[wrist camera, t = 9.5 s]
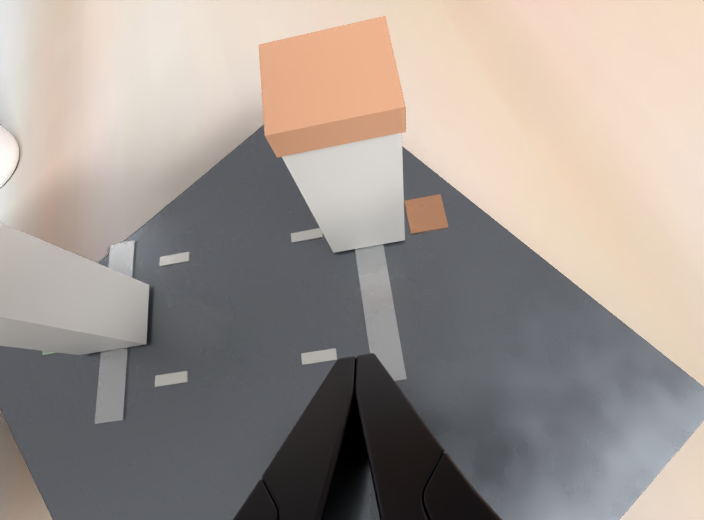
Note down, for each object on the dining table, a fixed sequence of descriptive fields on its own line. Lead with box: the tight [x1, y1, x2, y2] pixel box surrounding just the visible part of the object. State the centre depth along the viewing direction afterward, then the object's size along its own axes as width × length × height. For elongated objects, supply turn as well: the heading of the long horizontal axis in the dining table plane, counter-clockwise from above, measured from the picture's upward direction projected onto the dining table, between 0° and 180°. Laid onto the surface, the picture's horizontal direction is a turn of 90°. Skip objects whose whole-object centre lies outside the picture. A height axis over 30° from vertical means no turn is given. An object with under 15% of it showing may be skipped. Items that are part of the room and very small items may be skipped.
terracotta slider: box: [259, 16, 406, 253], centre depth 15 cm, size 3×4×9 cm
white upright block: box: [0, 223, 149, 355], centre depth 15 cm, size 3×4×9 cm
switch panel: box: [0, 126, 704, 520], centre depth 18 cm, size 24×24×1 cm
